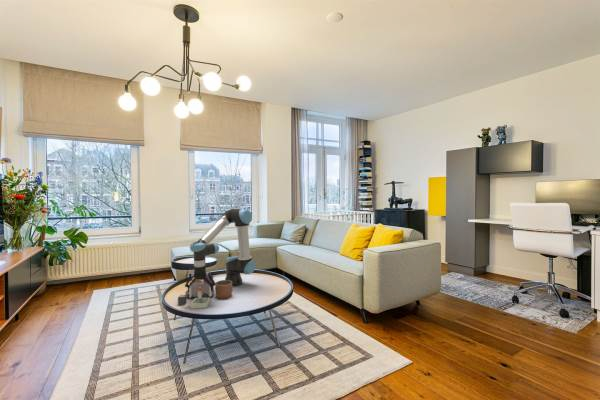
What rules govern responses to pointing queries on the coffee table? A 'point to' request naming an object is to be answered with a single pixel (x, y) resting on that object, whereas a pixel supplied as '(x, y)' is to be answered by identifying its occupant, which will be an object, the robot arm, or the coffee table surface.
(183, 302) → the chock
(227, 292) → the planter
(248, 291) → the coffee table surface
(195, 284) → the toy vehicle
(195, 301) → the tray
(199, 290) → the pin
